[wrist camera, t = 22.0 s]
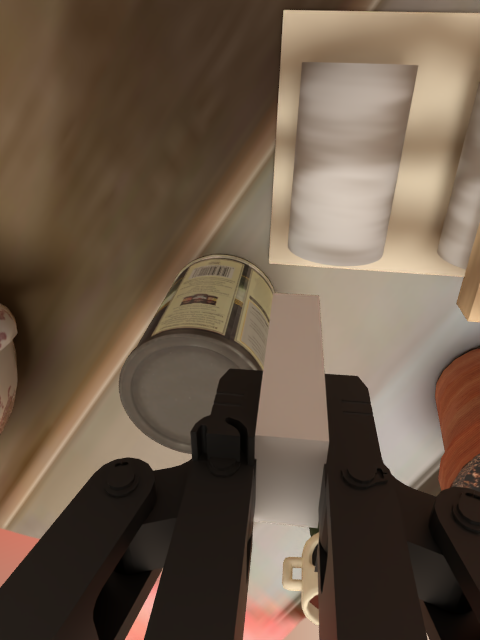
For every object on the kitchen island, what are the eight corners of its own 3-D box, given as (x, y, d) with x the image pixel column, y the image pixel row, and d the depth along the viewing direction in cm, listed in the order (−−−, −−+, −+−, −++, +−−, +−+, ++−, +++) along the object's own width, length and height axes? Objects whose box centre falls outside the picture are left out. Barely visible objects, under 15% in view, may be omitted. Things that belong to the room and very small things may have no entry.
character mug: (381, 474, 51) (404, 591, 40) (380, 517, 54) (400, 636, 43) (283, 473, 53) (278, 584, 41) (287, 515, 56) (283, 628, 45)
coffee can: (207, 365, 47) (172, 472, 34) (149, 283, 43) (87, 369, 30) (298, 327, 43) (296, 430, 31) (244, 233, 39) (217, 309, 27)
